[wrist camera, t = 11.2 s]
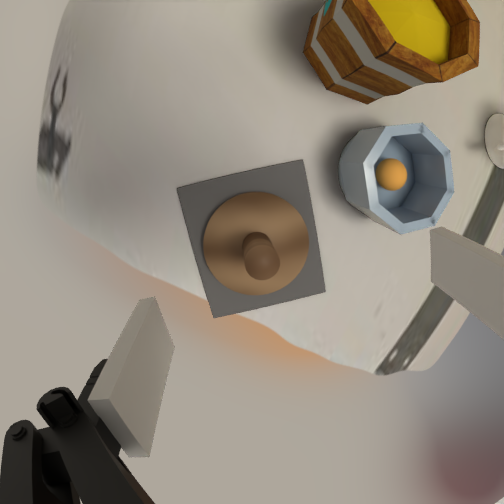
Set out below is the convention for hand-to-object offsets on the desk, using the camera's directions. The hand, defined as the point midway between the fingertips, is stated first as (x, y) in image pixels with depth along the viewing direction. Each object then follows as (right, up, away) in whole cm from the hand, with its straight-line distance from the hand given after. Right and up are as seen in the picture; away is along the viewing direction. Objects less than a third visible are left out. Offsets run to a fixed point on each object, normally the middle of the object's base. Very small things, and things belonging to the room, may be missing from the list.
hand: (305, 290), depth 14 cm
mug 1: (+12, +28, +16) cm, 34 cm away
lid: (-2, +3, +22) cm, 23 cm away
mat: (-2, +3, +23) cm, 23 cm away
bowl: (+13, +11, +21) cm, 27 cm away
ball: (+13, +11, +20) cm, 26 cm away
